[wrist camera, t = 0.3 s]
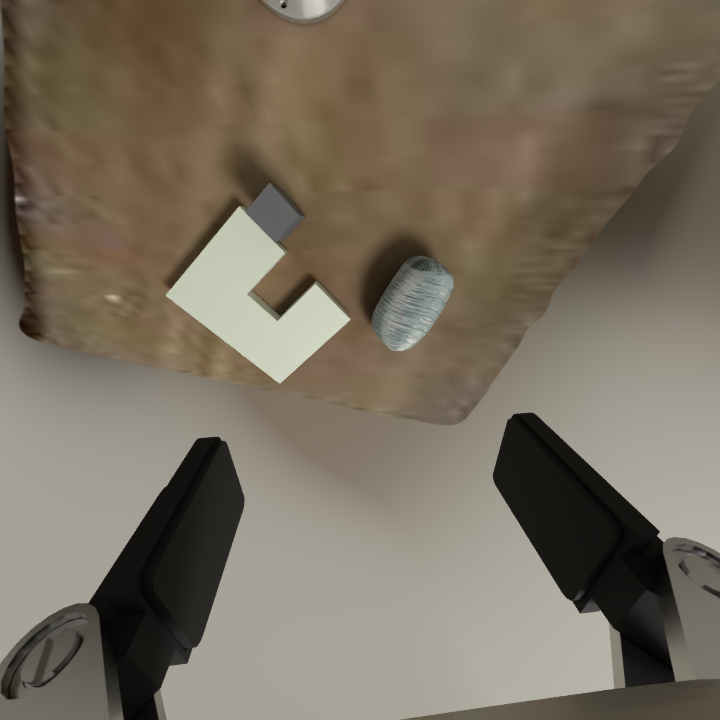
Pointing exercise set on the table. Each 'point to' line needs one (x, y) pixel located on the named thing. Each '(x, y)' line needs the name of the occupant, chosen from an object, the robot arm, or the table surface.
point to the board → (254, 300)
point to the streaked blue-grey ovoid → (412, 302)
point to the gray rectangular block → (275, 213)
